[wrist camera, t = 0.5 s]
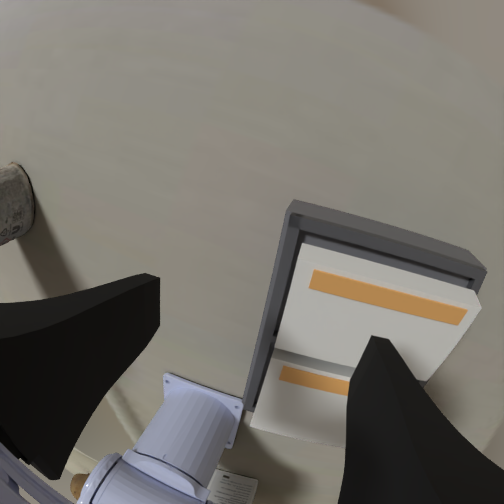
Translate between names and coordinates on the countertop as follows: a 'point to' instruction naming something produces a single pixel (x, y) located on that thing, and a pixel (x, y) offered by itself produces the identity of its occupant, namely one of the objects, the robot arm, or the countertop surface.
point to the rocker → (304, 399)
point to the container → (231, 488)
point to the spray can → (14, 203)
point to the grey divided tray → (358, 245)
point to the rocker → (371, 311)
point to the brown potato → (78, 484)
